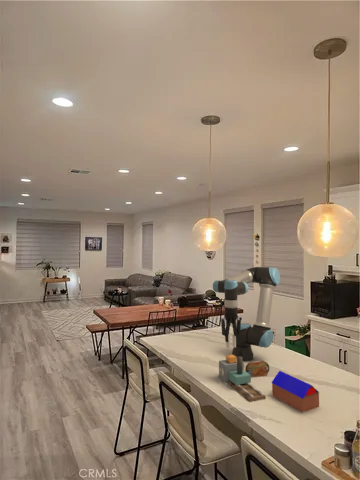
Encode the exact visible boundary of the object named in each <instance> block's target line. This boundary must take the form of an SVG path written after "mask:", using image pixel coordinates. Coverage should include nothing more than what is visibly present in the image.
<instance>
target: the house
mask: <svg viewBox="0 0 360 480" xmlns="http://www.w3.org/2000/svg"><path fill="white" fill-rule="evenodd" d="M270 383H271V391H272V393H271V395H272V396H273V397H275V398H277V399H278V400H280V401H282V402H284V403H285V404H288V405H289V406H291V407H293V408H295V409H297V410H298V411H300V412H302V413H305V412H308V411H311V410H313V409H316V408H318V407H320V391H318V389H316V388H315V387H314V386H313V385H312V384H310V383H308V382H305V381H303V380H301V379H299V378H296V377H294V376H292V375H290V374H288V373H286V372H284V371H281V370H279V371H278V372H277V374H276V375H275V376H274V378H273V379H272V380H271V382H270Z"/></svg>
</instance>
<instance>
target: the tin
mask: <svg viewBox="0 0 360 480" xmlns="http://www.w3.org/2000/svg"><path fill="white" fill-rule="evenodd" d="M244 371H246V372H247V373H249V374H250V375H251V378H259V377H265V376H267V375H268V374H269V372H270V365H269V363H268V362H266V361H264V360H257V361H250V362H248V363H247V364H246V365H245V367H244Z"/></svg>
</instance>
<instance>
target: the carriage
mask: <svg viewBox="0 0 360 480" xmlns="http://www.w3.org/2000/svg"><path fill="white" fill-rule="evenodd" d="M243 363H244V361H243V360H242V357H241V356H237V371H232V372H229V379H230V380H231V381H232V382H233V383H235V384H236V385H239V384H245V383H250V384H251V383H252V377H251V375H250V374H249V373H247V372H246V371H245V369H244V370H243Z"/></svg>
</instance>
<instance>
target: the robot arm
mask: <svg viewBox="0 0 360 480" xmlns="http://www.w3.org/2000/svg"><path fill="white" fill-rule="evenodd" d="M251 283H253V284H258V286H259V287H260V291H259V297H258V303H257V304H258V305H257V311H256V319H255V322H254V323H253V324H252V325H251V324H250V323H247V322H245V323H242V319H243V317H241V316H238V309H239V308H238V305H239V304H238V296H242V295H244V294H247V293H248V292H249V289H250V287H249V285H248V284H251ZM280 283H281V274H280V271H279V269H278V268H277V267H270V266H267V267H266V266H253V267H250V268H247V269H245V270H242V271H241V272H240V273H238V274H235V275H233V276H229V277H227V278H226V279H223V280H215V281H214V282H213V283H212V290H213V291H214V292H216V293H222V294H224V316H223V317H221V318H219V321H220V322H221V324H220V325H221V335H222V336H224V337H225V338H224V339H225V340H224V341H225V343H226V344H225V345H226V348H228V349H230V348H231V342H230V341H231V338H230V336H229V335H230V328H231V325H232V332H233V334H232V347H233V348H232V351H231V355H234V356H236V357H237V356H241V357H242V360H243V362H249V361H250V362H252V360H254V358H255V357H254V352H253V348H252V346H254V347H260V348H264V349H267V348H269V347H270V346H271V345H272V343H273V340H274V331H273V330H272V328H271V326H270V319H271V318H270V317H271V310H272V303H273V295H274V290H276V289H277V285H279V284H280Z"/></svg>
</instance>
